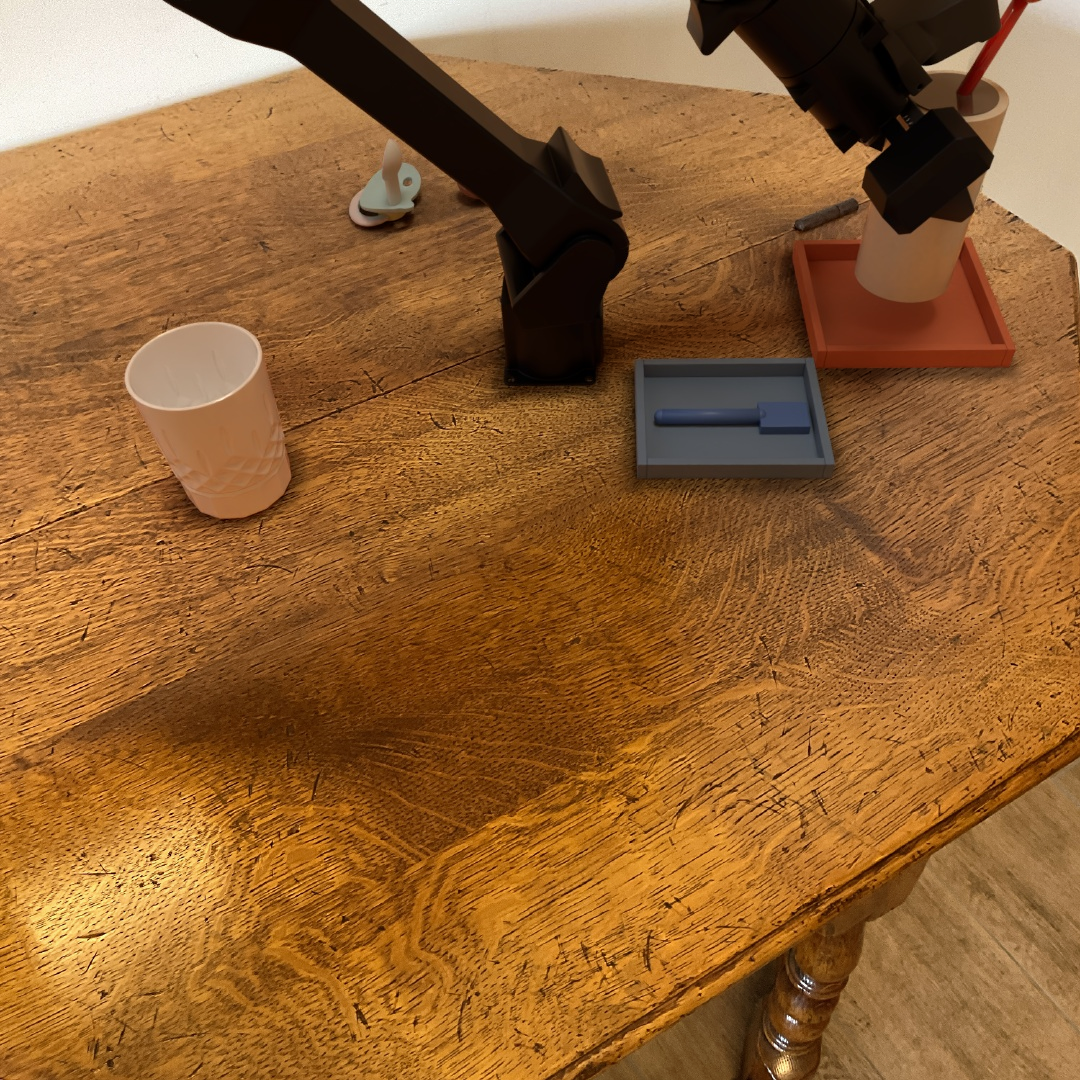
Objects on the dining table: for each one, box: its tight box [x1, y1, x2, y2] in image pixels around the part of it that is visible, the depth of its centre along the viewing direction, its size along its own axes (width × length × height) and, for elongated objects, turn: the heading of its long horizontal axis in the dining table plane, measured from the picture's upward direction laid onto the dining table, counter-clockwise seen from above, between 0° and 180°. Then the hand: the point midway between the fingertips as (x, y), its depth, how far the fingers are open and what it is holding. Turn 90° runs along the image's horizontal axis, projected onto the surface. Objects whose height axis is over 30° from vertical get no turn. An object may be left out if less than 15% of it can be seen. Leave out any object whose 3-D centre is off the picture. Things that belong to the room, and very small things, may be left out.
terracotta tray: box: [791, 237, 1017, 369], centre depth 73 cm, size 13×13×2 cm
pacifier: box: [348, 138, 422, 227], centre depth 83 cm, size 7×6×6 cm
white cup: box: [124, 321, 292, 520], centre depth 62 cm, size 8×8×10 cm
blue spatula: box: [654, 402, 811, 434], centre depth 66 cm, size 10×2×1 cm, turn 87°
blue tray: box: [633, 357, 836, 479], centre depth 66 cm, size 12×10×2 cm
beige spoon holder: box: [854, 0, 1042, 303], centre depth 63 cm, size 8×7×20 cm
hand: (945, 187), depth 66 cm, fingers closed on beige spoon holder, 6 cm apart
